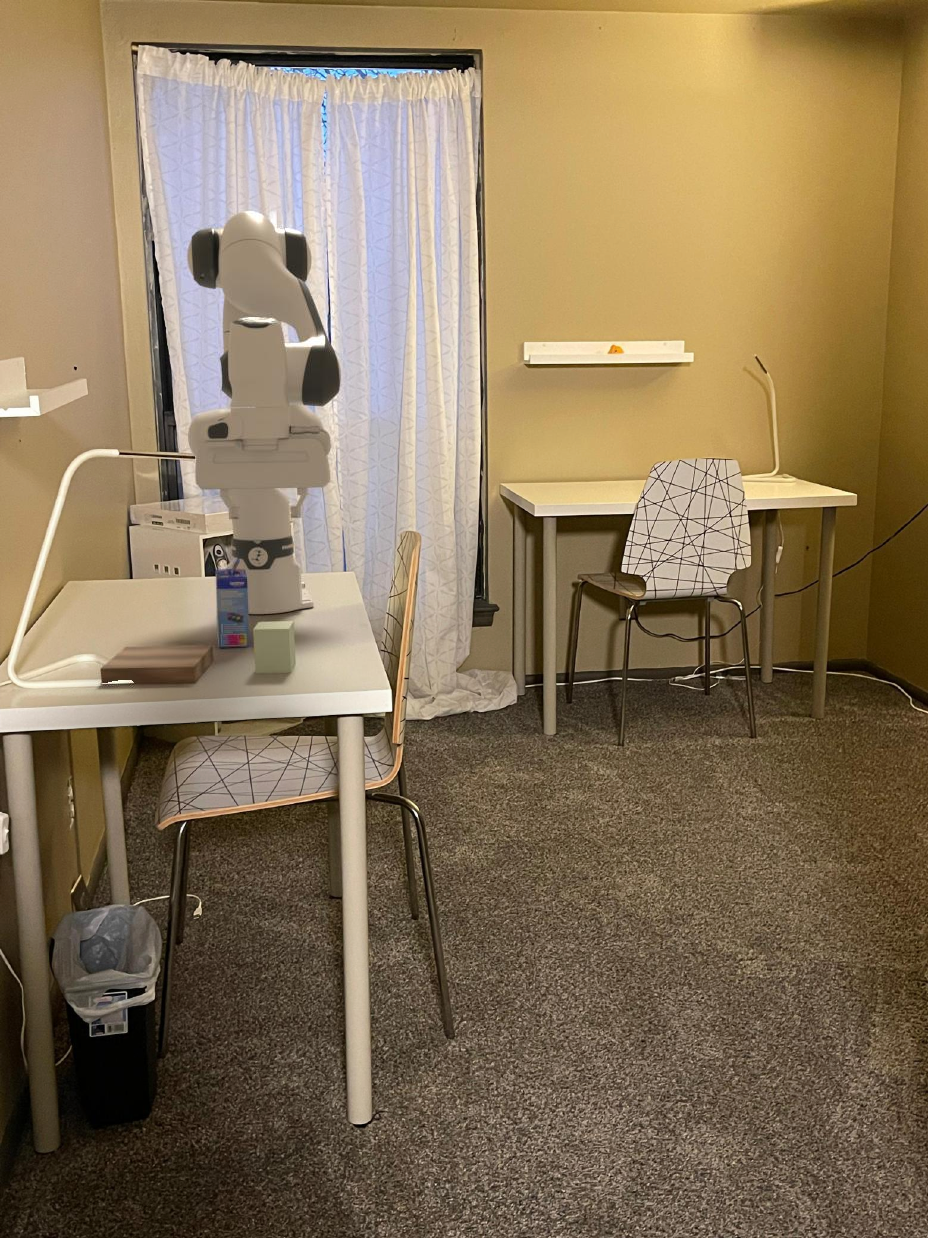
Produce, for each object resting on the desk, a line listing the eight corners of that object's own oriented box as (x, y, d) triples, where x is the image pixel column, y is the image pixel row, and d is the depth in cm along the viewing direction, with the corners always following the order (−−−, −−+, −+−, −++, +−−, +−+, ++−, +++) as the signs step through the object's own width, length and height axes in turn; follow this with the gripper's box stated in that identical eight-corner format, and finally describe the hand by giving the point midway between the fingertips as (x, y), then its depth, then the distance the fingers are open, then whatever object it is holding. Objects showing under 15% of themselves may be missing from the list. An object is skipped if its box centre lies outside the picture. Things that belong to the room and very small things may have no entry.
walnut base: (127, 661, 188) (125, 646, 187) (213, 660, 188) (212, 645, 188) (101, 684, 174) (100, 668, 174) (195, 682, 174) (193, 666, 174)
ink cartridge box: (251, 647, 197) (247, 563, 194) (218, 649, 195) (213, 564, 192) (249, 634, 206) (244, 554, 203) (217, 636, 205) (212, 555, 202)
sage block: (261, 664, 185) (258, 621, 184) (295, 664, 185) (293, 621, 184) (255, 673, 180) (253, 629, 178) (291, 672, 180) (288, 628, 178)
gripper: (331, 425, 178) (335, 514, 181) (198, 427, 178) (204, 517, 181) (327, 426, 172) (331, 518, 175) (189, 428, 172) (195, 521, 175)
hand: (265, 518), depth 178 cm, fingers open, 8 cm apart
